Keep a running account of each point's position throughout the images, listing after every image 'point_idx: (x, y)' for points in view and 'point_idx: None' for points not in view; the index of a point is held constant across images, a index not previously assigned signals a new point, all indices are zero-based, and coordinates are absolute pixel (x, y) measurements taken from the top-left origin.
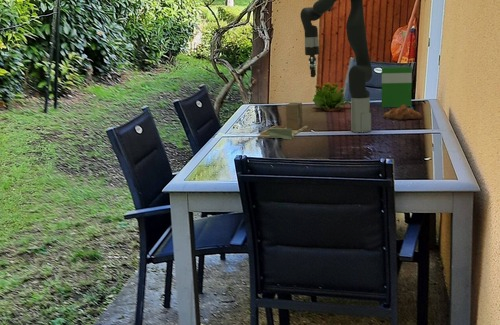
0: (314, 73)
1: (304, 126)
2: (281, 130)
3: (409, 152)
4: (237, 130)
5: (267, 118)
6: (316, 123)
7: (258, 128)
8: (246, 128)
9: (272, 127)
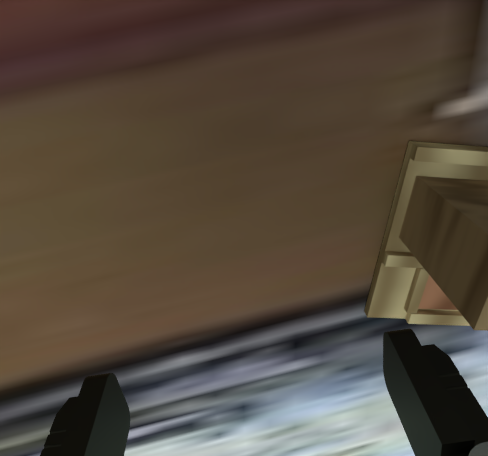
0: (436, 377)
1: (446, 161)
2: None
3: None
4: None
5: None
6: (222, 128)
7: (368, 377)
8: (363, 418)
9: (447, 317)
